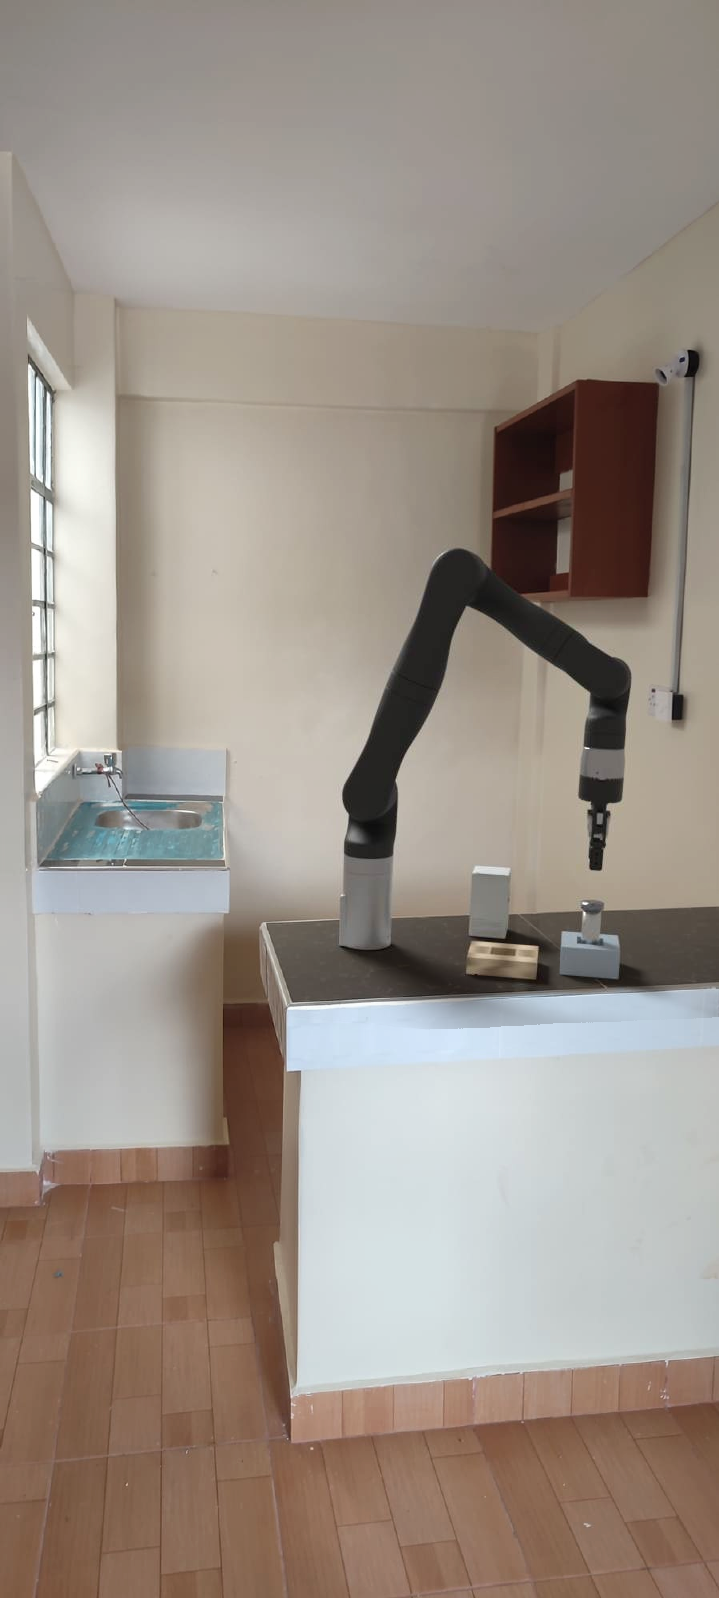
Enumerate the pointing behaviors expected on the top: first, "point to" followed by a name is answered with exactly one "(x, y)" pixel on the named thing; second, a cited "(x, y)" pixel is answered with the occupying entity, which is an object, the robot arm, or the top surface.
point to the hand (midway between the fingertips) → (594, 864)
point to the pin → (591, 921)
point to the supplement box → (489, 901)
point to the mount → (502, 960)
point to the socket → (589, 956)
